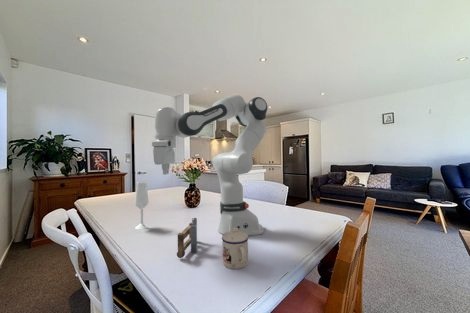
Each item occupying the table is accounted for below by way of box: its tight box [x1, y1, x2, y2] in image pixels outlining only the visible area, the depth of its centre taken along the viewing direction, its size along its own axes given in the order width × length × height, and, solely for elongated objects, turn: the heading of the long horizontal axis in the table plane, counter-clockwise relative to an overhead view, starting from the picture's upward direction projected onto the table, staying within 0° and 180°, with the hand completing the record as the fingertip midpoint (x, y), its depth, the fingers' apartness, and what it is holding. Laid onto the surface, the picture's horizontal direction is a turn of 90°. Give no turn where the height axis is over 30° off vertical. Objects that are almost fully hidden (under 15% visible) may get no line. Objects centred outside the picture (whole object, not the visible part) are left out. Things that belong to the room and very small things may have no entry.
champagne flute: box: [134, 181, 149, 230], centre depth 105 cm, size 7×7×24 cm
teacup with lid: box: [221, 228, 249, 270], centre depth 66 cm, size 12×9×12 cm
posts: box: [190, 217, 198, 254], centre depth 80 cm, size 3×11×10 cm, turn 4°
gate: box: [176, 222, 194, 259], centre depth 76 cm, size 13×3×8 cm, turn 173°
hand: (165, 174), depth 88 cm, fingers closed
